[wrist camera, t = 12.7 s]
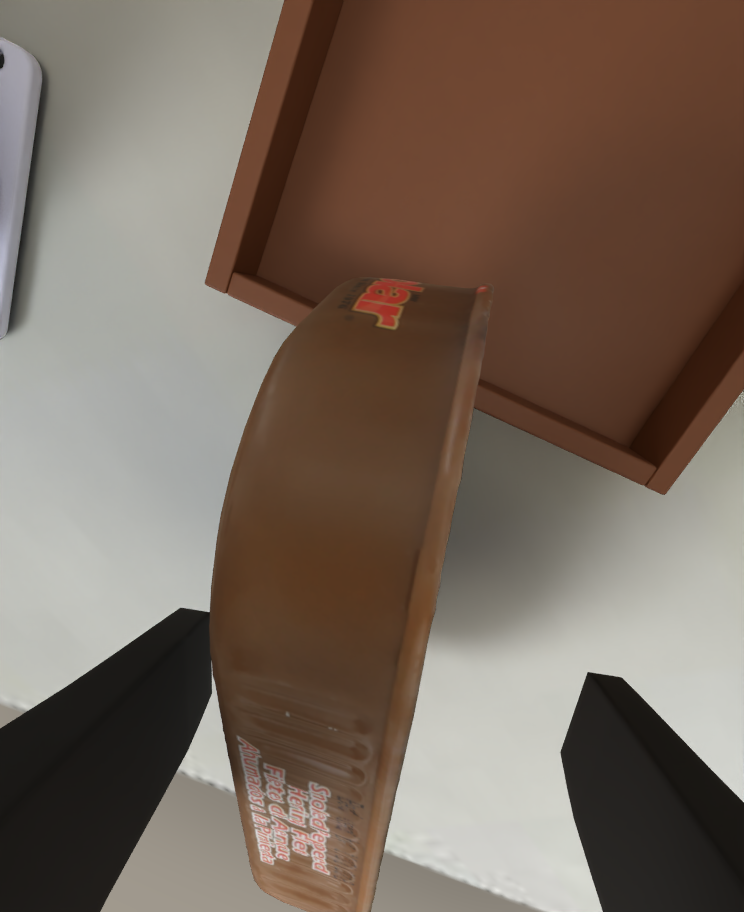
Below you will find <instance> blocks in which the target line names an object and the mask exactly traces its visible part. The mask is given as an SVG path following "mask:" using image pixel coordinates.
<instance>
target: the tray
mask: <svg viewBox="0 0 744 912" xmlns="http://www.w3.org/2000/svg"><path fill="white" fill-rule="evenodd" d="M360 277H372V278H385V279H397V280H405V281H412V282H420V283H427V284H435V285H442V286H451V287H460V288H469V289H470V288H476V287H478V286H479V285H481V284H484V283H487V284H492V285H493V287H494V292H493V302H492V305H491V309H490V317H489V320H488V329H487V335H486V341H485V349H484V357H483V360H482V365H481V372H480V377H479V381H478V385H477V390H476V396H475V402H474V408H475V409H477V410H479V411H482V412H484V413H486V414H488V415H490V416H492V417H495V418H497V419H499V420H501V421H503V422H506V423H508V424H510V425H512V426H514V427H516V428H519V429H521V430H523V431H525V432H527V433H529V434H532V435H534V436H536V437H538V438H540V439H543V440H545V441H547V442H549V443H551V444H553V445H556V446H558V447H560V448H562V449H564V450H566V451H569V452H571V453H573V454H575V455H577V456H580V457H582V458H584V459H586V460H588V461H590V462H593V463H595V464H597V465H599V466H601V467H603V468H606V469H608V470H610V471H612V472H614V473H617V474H619V475H621V476H623V477H625V478H627V479H630V480H632V481H634V482H636V483H638V484H640V485H644V486H645V487H647V488H649V489H651V490H653V491H656V492H658V493H660V494H662V495H665V494H666V493H667V491H668V490H669V489H670V487H671V486H672V485H673V483H674V482H675V481H676V479H677V478H678V477H679V475H680V474H681V473H682V471H683V470H684V469H685V467H686V466H687V465H688V463H689V462H690V461H691V459H692V458H693V457H694V455H695V454H696V453H697V451H698V450H699V449H700V447H701V446H702V445H703V443H704V442H705V441H706V439H707V438H708V436H709V435H710V434H711V432H712V431H713V430H714V428H715V427H716V426H717V424H718V423H719V422H720V420H721V419H722V418H723V416H724V415H725V414H726V412H727V411H728V410H729V408H730V407H731V406H732V404H733V403H734V402H735V400H736V399H737V398H738V396H739V395H740V394H741V392H742V391H743V390H744V0H284V4H283V7H282V11H281V14H280V18H279V21H278V25H277V28H276V32H275V36H274V39H273V43H272V46H271V50H270V53H269V57H268V60H267V64H266V67H265V71H264V75H263V78H262V82H261V85H260V89H259V92H258V96H257V99H256V103H255V106H254V110H253V114H252V117H251V121H250V124H249V128H248V131H247V135H246V138H245V142H244V145H243V149H242V153H241V156H240V160H239V163H238V167H237V170H236V174H235V177H234V181H233V184H232V188H231V192H230V195H229V199H228V202H227V206H226V209H225V213H224V216H223V220H222V223H221V227H220V231H219V234H218V238H217V241H216V245H215V248H214V252H213V255H212V259H211V262H210V266H209V270H208V273H207V277H206V280H205V284H206V285H207V286H209V287H211V288H214V289H216V290H218V291H220V292H222V293H227V294H228V295H229V296H231V297H233V298H236V299H238V300H240V301H242V302H244V303H247V304H249V305H251V306H253V307H255V308H257V309H260V310H262V311H264V312H266V313H268V314H270V315H273V316H275V317H277V318H279V319H281V320H284V321H286V322H288V323H290V324H292V325H294V326H298V324H299V323H300V322H302V321H303V320H304V319H305V318H306V317H307V316H308V315H309V314H310V313H311V312H312V311H313V309H314V308H315V307H316V306H317V305H318V304H319V303H320V302H321V301H322V300H323V299H325V298H326V297H327V296H328V295H329V294H330V293H331V292H332V291H333V290H334V289H335V288H336V287H338V286H339V285H341V284H343V283H344V282H346V281H349V280H351V279H354V278H360Z"/></svg>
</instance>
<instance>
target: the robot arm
mask: <svg viewBox="0 0 744 912" xmlns="http://www.w3.org/2000/svg"><path fill="white" fill-rule="evenodd" d="M2 54H3V55H4V60H5V63H4V65H3V68H1V69H0V339H2V338H3V337H4V336H6V333H7V330H8V323H9V315H10V308H11V301H12V294H13V287H14V280H15V272H16V265H17V258H18V251H19V244H20V236H21V229H22V222H23V215H24V208H25V200H26V193H27V186H28V179H29V172H30V165H31V157H32V150H33V143H34V136H35V129H36V121H37V114H38V107H39V100H40V93H41V85H42V71H41V68H40V65H39V63H38V61H37V60H36V58H35V57H34V56H33V55H32V54H30V53H29V52H28V51H26V50H25V49H23V48H22V47H20V46H18V45H17V44H15V43H13V42H10V41H8V40H6V39H4V38H2V37H0V55H2ZM209 624H210V612H204V611H198V610H192V609H185V608H180V609H178V610H177V611H175V612H174V613H172V614H171V615H169V616H168V617H166V618H165V619H164V620H162V621H161V622H159V623H158V624H156V625H155V626H154V627H152V628H151V629H149V630H148V631H146V632H145V633H144V634H142V635H141V636H139V637H138V638H136V639H135V640H134V641H132V642H131V643H129V644H128V645H126V646H125V647H124V648H122V649H121V650H119V651H118V652H116V653H115V654H114V655H112V656H111V657H109V658H108V659H106V660H105V661H103V662H102V663H100V664H99V665H98V666H96V667H95V668H93V669H92V670H90V671H89V672H87V673H86V674H84V675H83V676H81V677H80V678H78V679H77V680H75V681H74V682H73V683H71V684H70V685H68V686H67V687H65V688H64V689H62V690H60V691H59V692H57V693H56V694H54V695H52V696H51V697H49V698H48V699H46V700H45V701H43V702H41V703H40V704H38V705H37V706H35V707H34V708H32V709H30V710H29V711H27V712H26V713H24V714H22V715H21V716H20V717H18V718H16V719H15V720H13V721H11V722H10V723H8V724H7V725H5V726H4V727H2V728H0V912H100V911H101V909H102V907H103V905H104V903H105V901H106V899H107V897H108V895H109V893H110V892H111V890H112V888H113V886H114V884H115V883H116V881H117V879H118V877H119V875H120V873H121V872H122V870H123V868H124V866H125V864H126V862H127V861H128V859H129V857H130V855H131V853H132V852H133V849H134V848H135V846H136V844H137V843H138V841H139V839H140V837H141V835H142V834H143V832H144V830H145V828H146V826H147V824H148V822H149V821H150V819H151V817H152V815H153V814H154V812H155V810H156V808H157V806H158V804H159V802H160V801H161V799H162V797H163V795H164V793H165V792H166V790H167V788H168V786H169V784H170V782H171V781H172V779H173V777H174V775H175V773H176V771H177V770H178V768H179V766H180V764H181V762H182V760H183V758H184V757H185V755H186V753H187V751H188V749H189V747H190V744H191V742H192V740H193V737H194V735H195V733H196V731H197V728H198V726H199V724H200V721H201V719H202V716H203V714H204V711H205V709H206V706H207V704H208V702H209V699H210V697H211V694H212V668H211V654H210V631H209ZM561 758H562V763H563V768H564V773H565V779H566V784H567V789H568V794H569V798H570V803H571V807H572V812H573V817H574V820H575V823H576V827H577V830H578V833H579V837H580V840H581V843H582V846H583V850H584V853H585V856H586V859H587V862H588V866H589V869H590V872H591V875H592V879H593V882H594V885H595V888H596V891H597V894H598V897H599V901H600V904H601V907H602V910H603V912H744V802H743V801H742V800H741V799H740V798H739V797H738V796H737V795H736V794H735V793H734V792H733V791H732V790H731V789H730V788H729V787H728V786H727V785H726V784H725V783H724V782H723V781H722V780H721V779H720V778H719V777H718V776H717V775H716V774H715V773H714V772H713V771H712V770H711V769H710V768H709V767H708V766H707V765H706V764H705V763H704V762H703V761H702V760H701V759H700V758H699V757H698V756H697V754H696V753H695V752H694V751H693V750H692V749H691V748H690V747H689V746H688V745H687V744H686V743H685V742H684V741H683V740H682V739H681V738H680V737H679V736H678V735H677V734H676V733H675V732H674V731H673V730H672V728H671V727H670V726H669V725H668V724H667V723H666V722H665V721H664V720H663V719H662V718H661V717H660V716H659V715H658V714H657V713H656V712H655V711H654V710H653V709H652V708H651V707H650V706H649V705H648V703H647V702H646V701H645V700H644V699H643V698H642V697H641V696H640V695H639V694H638V693H637V692H636V691H635V690H634V689H633V688H632V687H631V686H630V685H629V684H628V683H627V682H626V681H625V680H624V679H623V678H621V677H615V676H609V675H602V674H596V673H590V672H588V673H587V676H586V679H585V682H584V685H583V688H582V691H581V694H580V696H579V699H578V702H577V705H576V708H575V711H574V714H573V717H572V720H571V723H570V726H569V729H568V732H567V735H566V738H565V741H564V743H563V746H562V749H561Z"/></svg>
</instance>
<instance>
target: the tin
mask: <svg viewBox="0 0 744 912" xmlns="http://www.w3.org/2000/svg"><path fill="white" fill-rule="evenodd" d="M493 292H494V287H493V285H492V284H487V283H484V284H481V285H479V286H478V287H476V288H470V289H469V288H460V287H451V286H442V285H435V284H427V283H420V282H412V281H405V280H397V279H385V278H372V277H360V278H354V279H351V280H349V281H346V282H344V283H343V284H341V285H339V286H338V287H336V288H335V289H334V290H333V291H332V292H331V293H330V294H329V295H328V296H327V297H326V298H325V299H323V300H322V301H321V302H320V303H319V304H318V305H317V306H316V307H315V308H314V309H313V311H312V312H311V313H310V314H309V315H308V316H307V317H306V318H305V319H304V320H303V321H302V322H300V323H299V324H298V326H297V327H296V328H295V329H294V330H293V332H292V333H291V334H290V335H289V336H288V338H287V339H286V340H285V341H284V342H283V344H282V346H281V347H280V349H279V350H278V352H277V354H276V355H275V357H274V359H273V361H272V363H271V365H270V367H269V369H268V372H267V374H266V376H265V378H264V380H263V382H262V384H261V387H260V389H259V392H258V394H257V397H256V400H255V402H254V405H253V407H252V410H251V413H250V415H249V418H248V421H247V423H246V426H245V429H244V432H243V435H242V438H241V441H240V445H239V448H238V451H237V454H236V457H235V461H234V464H233V467H232V470H231V473H230V478H229V482H228V486H227V491H226V495H225V499H224V503H223V508H222V512H221V517H220V523H219V530H218V536H217V543H216V551H215V560H214V568H213V576H212V585H211V603H210V624H209V631H210V654H211V660H212V668H213V677H214V680H215V684H216V690H217V696H218V702H219V708H220V713H221V718H222V723H223V731H224V734H225V741H226V744H227V751H228V757H229V760H230V765H231V771H232V776H233V781H234V786H235V791H236V796H237V801H238V806H239V811H240V817H241V822H242V826H243V831H244V836H245V842H246V847H247V850H248V856H249V862H250V866H251V870H252V874H253V877H254V880H255V882H256V883H257V885H258V886H259V887H260V889H262V890H263V891H264V892H265V893H267V894H269V895H271V896H273V897H275V898H277V899H278V900H280V901H282V902H284V903H287V904H290V905H292V906H295V907H297V908H300V909H302V910H305V911H307V912H371V908H372V903H373V900H374V895H375V890H376V884H377V880H378V876H379V870H380V865H381V861H382V857H383V852H384V847H385V842H386V837H387V833H388V828H389V823H390V821H391V815H392V810H393V806H394V801H395V795H396V790H397V787H398V783H399V780H400V774H401V770H402V766H403V761H404V757H405V752H406V748H407V743H408V739H409V734H410V730H411V725H412V721H413V717H414V712H415V707H416V701H417V696H418V691H419V685H420V680H421V675H422V670H423V665H424V659H425V653H426V648H427V643H428V638H429V633H430V628H431V624H432V621H433V617H434V614H435V610H436V601H437V596H438V592H439V588H440V581H441V571H442V567H443V563H444V558H445V551H446V546H447V542H448V538H449V534H450V529H451V522H452V516H453V512H454V507H455V502H456V497H457V491H458V488H459V485H460V482H461V478H462V470H463V462H464V455H465V451H466V446H467V441H468V436H469V431H470V427H471V421H472V415H473V408H474V402H475V396H476V390H477V385H478V381H479V377H480V372H481V365H482V360H483V357H484V349H485V341H486V335H487V329H488V320H489V317H490V309H491V305H492V302H493Z"/></svg>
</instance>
